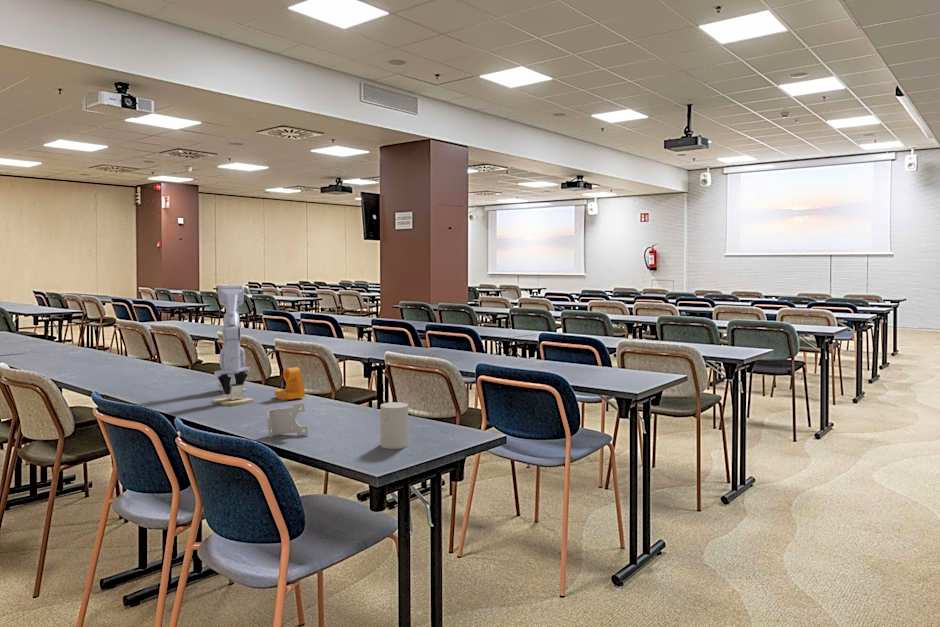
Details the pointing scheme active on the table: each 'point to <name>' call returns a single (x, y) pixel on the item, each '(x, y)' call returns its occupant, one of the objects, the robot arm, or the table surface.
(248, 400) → the post block
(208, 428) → the table surface
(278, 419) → the bracket
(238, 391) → the nut
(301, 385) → the bracket
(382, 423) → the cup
